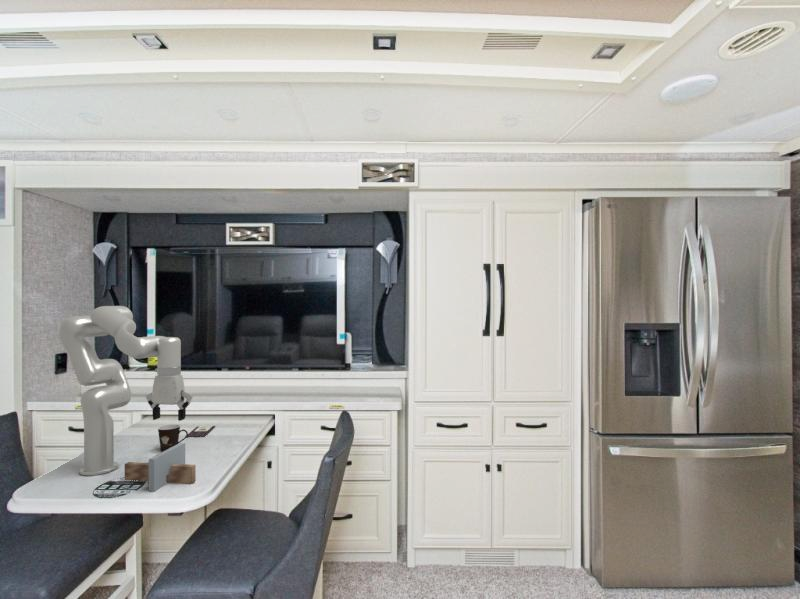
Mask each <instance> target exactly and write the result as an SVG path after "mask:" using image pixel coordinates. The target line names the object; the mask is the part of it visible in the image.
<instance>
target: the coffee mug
mask: <svg viewBox="0 0 800 599" xmlns="http://www.w3.org/2000/svg"><path fill="white" fill-rule="evenodd" d="M157 431H158V439H159V446H160V453H161V452H163V451H165V450H167V449H169V448H171V447H173V446H175V445H177V444H179V443H182V442H183V441H185V440H186V437H187V436H188V434H189V432H188V431H187V430H186V429H181V425H180V424H176V423H175V424H174V423H173V424H164V425H161V426H158V428H157ZM181 432H184V433H185V434H186V437H185V436H184V437H183V438H182V439H181V440H179V438H180V434H181Z"/></svg>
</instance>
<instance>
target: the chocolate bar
mask: <svg viewBox="0 0 800 599" xmlns="http://www.w3.org/2000/svg"><path fill="white" fill-rule="evenodd" d="M215 428H216V425H205V426H202V425H201V426H200V425H199V426H196V427H194V429H193V430H191V431H189V432H188V436H187V437H186V436H184V438H185V437H186V438H187V439H189V438H188V437H194V438H205V436H206V435H207V436H208V434H210V433H211V432H212V431H213V430H214V429H215ZM186 438H185V439H186Z"/></svg>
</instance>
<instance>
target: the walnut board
mask: <svg viewBox="0 0 800 599" xmlns="http://www.w3.org/2000/svg"><path fill="white" fill-rule="evenodd" d="M196 478H197V476H196V464H186V463H185V464H174V465H172V466H171V473H170V474H168V475H167V476H166V484H185V485H188V484H189V485H193V484H195V483H196V482H195V481H196V480H197V479H196ZM125 480H131V481H130V482H141V481H148V482H147V483H149V462H139V461H138V462H135V461H128V462H126V463H124V481H125ZM132 480H133V481H132ZM134 480H135V481H134ZM136 480H138V481H136Z"/></svg>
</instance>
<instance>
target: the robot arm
mask: <svg viewBox="0 0 800 599" xmlns="http://www.w3.org/2000/svg"><path fill="white" fill-rule="evenodd" d="M59 326H60V327H59V330H58V334H59V340H60V342H61V344H62V346H63V348H64V349H65V351H66V353H67V355H68V357H69V359H70V362H71V364H72V365H71V366H72V369H73V371H74V374H75V376H76V379H77V381H78V383H79V384H80V385H81V386H84V387H90V386H96V385H97V386H96V387H92V388H89V389H87V390H85V392H83V394H82V395H81V397H80V407H81V411H82V416H83V447H84V448H83V461H84V462H83V465H84V466H82V467H81V468H79V470H78V474H79V475H82V476H98V475H103V474H106V473H110V472H113V471H114V470H117V469H118V468H119V463H118V462H117V461H115V459H114V453H115V452H114V451H115V450H114V447H115V446H114V443H115V442H114V440H115V439H114V438H115V437H114V432H115V430H114V428H115V427H114V424H115V423H114V419H113V417H112V416H111V414H110V413H109V411H111V410H115V409H118V408H119V409H120V408H123V407H125V406H127V405H128V404H129V403H130V401H131V400H132V391H131V388H130V385H129V382H128V379H127V377H126V374H125V371H124V369H123V366H122V365H121V363H120V362H119V361H118V360H117V359H114V358H104V359H100V358H99V357H98V354H97V352H96V350H95V348H94V346H93V345H92V344H91V343H90V342H89V341H88V340H85V338H93V337H104V336H109V335H110V336H112V337H113V338H114V342H115V345H116V347H117V349H118V350H119V351H120V352H122V353H123V354H125V355H127V356H129V358H133V359H137V360H139V359H140V360H141V359H146V358H155V357H157V360H156V361H157V362H156V363H157V364H156V365H157V367H156V368H154V372H155V373H156V374H157V375H155V376H154V379H153V380H154V381H153V385H152V392H151V393H149V394H147V395H146V396H145V398H146V400H147V404H149V407H150V408H151V409H152V420H153V421H155V420H158V419H161V407H160V405H165V406H166V405H167V406H168V405H171V406H172V405H176V406H177V407H178V408H179V409H178V410H177V414H178V415H177V420H178V422H179V421H180V422H181V421H183V420H185V419H186V412H187V411H186V408H187V407H188V406H189V405H190V404H191V402H192V400H193V398H194V397H193V396H192V395H190V394H189V393H187V392H186V390H185V383H184V382H185V381H184V376H183V374H182V371H181V370H182V369H181V368H182V365H181V364H182V363H181V362H182V360H181V359H182V355H181V354H182V353H181V352H182V351H181V350H182V347H181V346H182V345H181V344H182V340H181V339H180V338H179V337H177V336H176V337H175V336H174V337H173V336H164V335H153V336H151V335H150V336H149V335H148V336H142V337H139V336H138V337H137V336H136V335H134V334H135V332H136V329H137V325H136V322H135V321H134V315H133V312H132V311H131V310H130V308H128V307H127V306H125V305H103V306H99V307H96V308H94V309H93V310H92V311H91V313H90V315H89V314H88V315H75V316H74V315H73V316H70V317H68V318H65V319H64V320H62V322H61V323H60V325H59ZM103 384H105V385H103ZM98 385H100V386H98ZM101 385H102V386H101ZM185 399H186V400H185Z"/></svg>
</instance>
